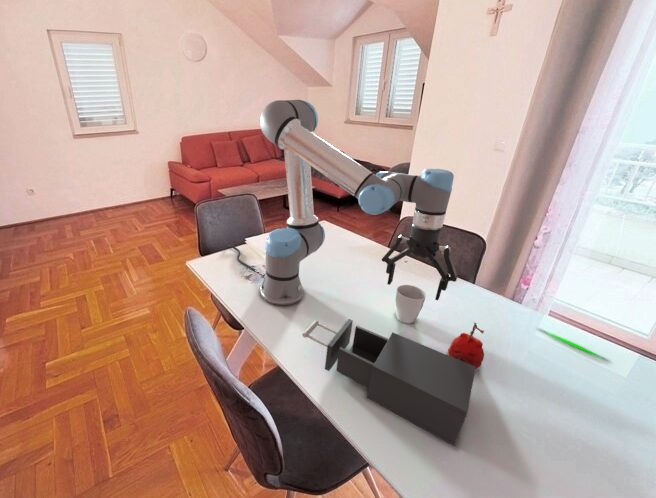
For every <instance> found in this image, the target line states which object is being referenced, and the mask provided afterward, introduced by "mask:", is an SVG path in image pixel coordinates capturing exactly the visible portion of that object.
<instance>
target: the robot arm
mask: <svg viewBox="0 0 656 498" xmlns="http://www.w3.org/2000/svg"><path fill="white" fill-rule="evenodd" d="M318 122H319V115H318V112H317V109H316V108H315V107H314V105H312V103H310V102H309V101H306V100H302V99H286V100H285V99H284V100H281V99H279V100H274V101H271V102H269V103H268V104H266V106H264V108H263V109H262V111H261V114H260V117H259V127H260V129H261V132H262V134H263V136H264V137H265V138H266V139H267V140H268V141H269V142H271V143H272V144H273V145H275V146H276V147H277V148H279V149H280V150H283V153H284V154H283V155H284V166H285V177H286V186H287V197H288V206H289V217H288V218H287V220H286V227H282V228H276V229H274V230H272V231H271V232H269V233H268V235H267V236H266V240H265V246H264V247H265V273H263V274H264V275H263V276H262V277H263V279H262V282H261V285H260V296H261V298H262V299H263V300H264V301H266V302H267V303H269V304H272V305H276V306H291V305H294V304H296V303H298V302H299V301H301V300H302V298H303V295H304V287H303V284H302V282H301V277H300V263H301V262H302V261H303V260H305V259H306V258H308V257H309V256H310V255H312V254H313V253H316V252H317V251H318V250H319V249H320V248H321V247H322V245H323V244H324V242H325V239H326V232H325V228H324V227H323V226H322V225H321V222H319V221H320V219H319V217H318V216H317V215H315V212H314V197H313V196H314V195H313V182H312V180H313V179H312V168H313V169H315V170H316V171H318V172H319V173H320V174H322V175H323V176H324V177H326V178H327V179H329V180H330V181H331V182H333V183H334V184H336V185H337V186H339V187H340V188H342V189H343V190H344V191H346V192H347V193H348V194H350V195H352V196H353V197H354V198H356V199H357V201H358V205H359V207H360V208H361V210H362V211H363V212H364V213H366V214H369V215H371V216H374V215H375V216H376V215H380V214H382V213H386V211H389V209H392V207H393V206H394V205H395V204H397V203H398V202H399V201H400V202H405V203H411V204H412V203H413V204H415V207H414V212H413V217H412V224H411V227H410V231H409V237H405V236H404V235H403V234H399V235H398V236H397V238H396V239H395V243H394V244H393V245H392V246H391V248H390V249H389V250H388V251H387V252H386V253H385V254H384V256H383V257H382V258H381V262H384V263H385V264H386V268H385V269H386V270H385V273H386V274H388V279H387V283H386V285H388V286H390V285H391V284H392V282H393V281H394V276H395V275H394V274H395V271H396V264H397V262H398V261H400V260H401V259H404V258H405V257H406V256H408V255H410V254H413V256H416V257H421V258H424V259H426V258H428V259H429V261H430V262H431V263H432V264H433V267H434V268H435V269H436V271H437V272H438V274H439V275H440V277H441V278H440V279H439V282H438V287H437V291H436V295H435V301H439V300H440V297H441V294H442V291H444V292H446V290H447V288H448V285H449V282H453V283H455V282H457V280H458V277H459V275H458V273H457V272H458V271H457V270H456V266H455V263H454V260H453V257H452V254H451V251H452V247H451V245H440V239H441V235H442V230H443V229H442V228H443V226H444V223H445V218H446V214H447V209H448V205H449V202H450V199H451V194H452V191H453V183H454V179H455V176H454V173H453V172H452V171H451V170H448V169H443V168H426V169H424V170H422V172H421V174H420V175H418V174H417V175H416V174H409V173H407V174H406V173H401V172H393V171H378V172H376V174H375V173H373V172H372V171H371V170H369V169H368V168H366V167H365V166H363V165H362V164H360V163H358V162H357V161H356V160H354V159H353V158H351V157H350V156H348V155H347V154H345V153H343V152H342V151H341V150H339V149H337V148H336V147H334V146H333V145H331V144H330V143H328V142H327V141H325V140H324V139H322V137H320V136H317V134H315V133H314V132H315V131H316V129H317V127H318ZM311 167H312V168H311ZM405 243H406V245H407V248H406V249H404V250H402V251H401V252H399V253H397V254H396V255H394V256H393V257H391V255H392V254H393V253H394V252H395V251H396V250H397V249H398V247H399V246H401V245H403V244H405ZM226 248H227V249H229V248H232V249H234V250H235V251H237V253H238V254H237V256H236V261H237V262H238V263H239V264H241V265H242V266H244V267H246V268H248V269H250V270H251V271H253V270H257V269H256V268H254V267H252V266H250V265H249V264H247V263H245V262H244V261H242V260H240V256H241V250H240V249H239V248H238V247H236V246H234V245H231V244H230V245H227V247H226ZM438 251H439V252H440V253H441V254H442V255H443V258H444V262H445V265H446V268H447V269H446V268H445V266H444V264H443V263H442V261H441V260H440V258H439V256H438V254H437V252H438ZM390 257H391V258H390ZM251 267H252V268H251Z"/></svg>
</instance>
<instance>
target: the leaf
mask: <svg viewBox="0 0 656 498" xmlns="http://www.w3.org/2000/svg"><path fill="white" fill-rule="evenodd" d="M543 332H545V333H546V334H548V335H550V336H552V337H554V338H555V339H557V340H560V341H562V342H563V343H565V344H568V345H570V346H572V347H574V348H577V349H578V350H581V351H584V352H586V353H588V354H590V355H594V356H596V357H599V358H601V359H603V360H606V358H604V357H603V356H601V355H598V354H597V353H596V352H593V351H591V350H589V349H587V348H585V347H583V346H581V345H579V344H577V343H574V342H572V341H569V340H567V339H565V338H564V337H560V336H557V335H555V334H552V333H550V332H547V331H545V330H543Z"/></svg>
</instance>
